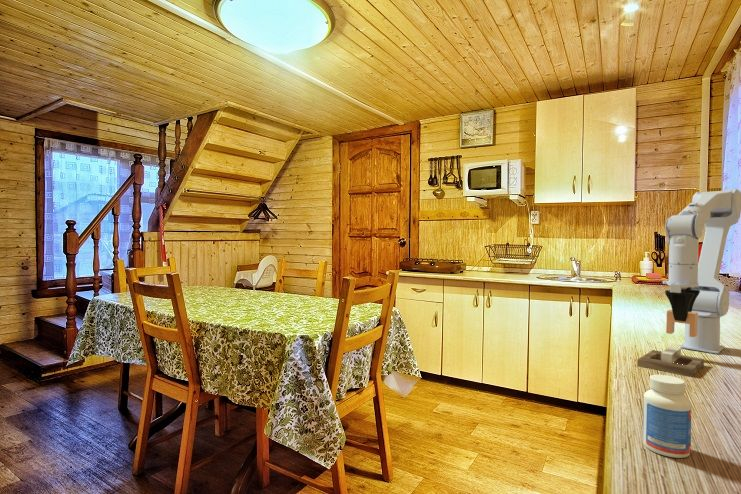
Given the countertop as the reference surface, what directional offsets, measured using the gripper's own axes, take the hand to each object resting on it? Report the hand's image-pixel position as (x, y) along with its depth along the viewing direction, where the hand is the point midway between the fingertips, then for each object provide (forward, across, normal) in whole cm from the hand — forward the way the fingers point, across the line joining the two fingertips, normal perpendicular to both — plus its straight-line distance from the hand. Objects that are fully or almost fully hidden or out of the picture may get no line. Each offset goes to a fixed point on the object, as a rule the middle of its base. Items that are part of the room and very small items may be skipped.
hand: (681, 319), depth 101 cm
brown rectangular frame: (+9, +10, 0) cm, 13 cm away
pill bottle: (+9, +56, +10) cm, 57 cm away
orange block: (+4, 0, 0) cm, 4 cm away
